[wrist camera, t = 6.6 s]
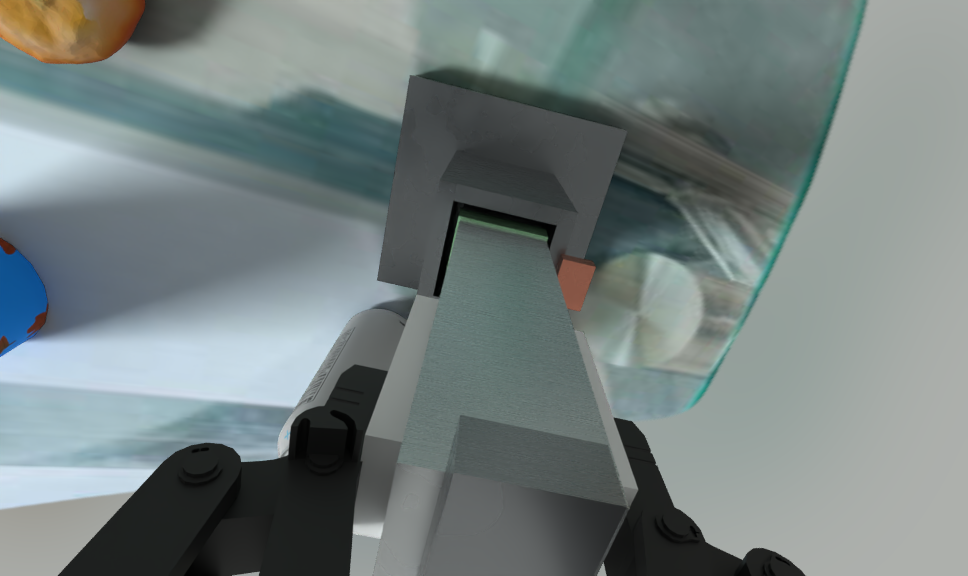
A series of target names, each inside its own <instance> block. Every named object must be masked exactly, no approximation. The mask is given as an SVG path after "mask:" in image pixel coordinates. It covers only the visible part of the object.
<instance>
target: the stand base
mask: <svg viewBox="0 0 968 576" xmlns="http://www.w3.org/2000/svg"><path fill="white" fill-rule="evenodd" d="M627 132H628V131H626V130H624V129H621V128H617V127H614V126H610V125H606V124H602V123H598V122H594V121H590V120H586V119H582V118H579V117H575V116H571V115H567V114H563V113H559V112H555V111H551V110H547V109H543V108H540V107H536V106H532V105H528V104H524V103H520V102H516V101H512V100H508V99H505V98H501V97H497V96H493V95H489V94H485V93H481V92H477V91H473V90H470V89H466V88H462V87H458V86H454V85H450V84H446V83H442V82H438V81H434V80H431V79H427V78H423V77H419V76H415V75H410V79H409V85H408V91H407V98H406V104H405V110H404V116H403V122H402V129H401V135H400V141H399V147H398V154H397V160H396V166H395V172H394V178H393V185H392V191H391V197H390V203H389V210H388V216H387V222H386V228H385V234H384V241H383V247H382V253H381V259H380V266H379V272H378V278H377V280H378V281H382V282H386V283H391V284H395V285H400V286H404V287H409V288H413V289H418V292H417V295H421V296H425V297H430V298H434V299H439V298H440V295H441V291H442V287H443V283H444V279H445V275H446V270H447V266H448V261H449V257H450V252H451V248H452V243H453V239H454V234H455V230H456V225H457V221H458V216H459V213H460V209H463V206H464V203H465V204H469V205H474V206H478V207H482V208H486V209H490V210H494V211H499V212H503V213H507V214H511V215H515V216H520V217H524V218H528V219H532V220H536V221H540V222H541V226H542V228H545V229H546V232H547V235H548V240H547V245H548V248H549V251H550V255H551V258H552V261H553V264H554V267H555V271H556V274H557V277H558V280H559V283H560V287H561V290H562V293H563V296H564V300H565V303H566V306H567V309H571V310H576V311H580V310H581V308H582V305H583V302H584V299H585V296H586V293H587V291H588V288H589V285H590V282H591V279H592V277H593V274H594V271H595V268H596V266H595V264H594V263H593V261H590V260H586V259H584V258H585V255H586V252H587V249H588V246H589V243H590V240H591V237H592V234H593V231H594V228H595V225H596V222H597V219H598V217H599V214H600V211H601V208H602V205H603V202H604V199H605V196H606V193H607V190H608V187H609V184H610V181H611V178H612V176H613V173H614V170H615V167H616V164H617V161H618V158H619V155H620V152H621V149H622V146H623V143H624V140H625V137H626V135H627Z"/></svg>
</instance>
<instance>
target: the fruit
mask: <svg viewBox="0 0 968 576" xmlns="http://www.w3.org/2000/svg"><path fill="white" fill-rule="evenodd" d="M144 10H145V0H0V37H1V38H3V39H4V40H5V41H7V42H9V43H11V44H12V45H14V46H15V47H17V48H18V49H20V50H22V51H24V52H25V53H27V54H29V55H31V56H33V57H35V58H36V59H38V60H39V61H41V62H44V63H54V64H83V63H93V62H98V61H102V60H105V59H107V58H109V57H110V56H112V55H113V54H114V53H116V52H117V51H118V50H119V49H121V48H122V47H123V46H124V45H125V44H126V43H127V41H128V40H129V39H130V37H131V36H132V34H133V32H134V30H135V28H136V26H137V24H138V22H139V20H140V18H141V16H142V14H143V12H144Z"/></svg>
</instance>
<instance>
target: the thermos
mask: <svg viewBox="0 0 968 576" xmlns="http://www.w3.org/2000/svg"><path fill="white" fill-rule="evenodd" d="M47 311H48V301H47V297H46V292H45V288H44V285H43V283H42V281H41V280H40V278H39V276H38V275H37V273H36V271H35V269H34V268H33V266H32V264H31V263H30V262H29V261H28V260H27V259H26V258H25V257H24V256H23V255H22V254H20V253H19V252H18V251H17V250H16V249H15V248H14V247H13V246H12V245H11V244H9V243H8V242H6V241H4V240H3V239H1V238H0V357H1V356H3V355H4V354H6V353H7V352H9V351H11V350H12V349H14V348H15V347H17V346H18V345H20V344H22V343H23V342H25V341H26V340H28V339H29V338H31V337H33V336H34V335H35V334H36V333H37V332H38V330H39V329H40V328H41V327H42V326H43V325H44V324H45V320H46V315H47Z"/></svg>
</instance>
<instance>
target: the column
mask: <svg viewBox="0 0 968 576" xmlns="http://www.w3.org/2000/svg"><path fill="white" fill-rule="evenodd" d="M547 240H548V235H547V232H546V229H545V228H542V226H541V222H540V221H536V220H532V219H528V218H524V217H520V216H515V215H511V214H507V213H503V212H499V211H494V210H490V209H486V208H482V207H478V206H474V205H469V204H465V203H464V206H463V209H460V213H459V216H458V221H457V225H456V230H455V234H454V239H453V243H452V248H451V252H450V257H449V261H448V266H447V270H446V275H445V279H444V283H443V287H442V291H441V295H440V298H439V302H438V306H437V310H436V314H435V318H434V321H433V325H432V329H431V333H430V337H429V341H428V345H427V348H426V352H425V356H424V360H423V364H422V368H421V371H420V375H419V379H418V383H417V387H416V391H415V394H414V398H413V402H412V406H411V410H410V414H409V418H408V421H407V425H406V429H405V433H404V437H403V441H402V444H401V448H400V452H399V456H398V460H397V464H396V469H395V473H394V478H393V483H392V487H391V492H390V497H389V501H388V506H387V511H386V515H385V520H384V525H383V529H382V534H381V539H380V543H379V549H378V553H377V557H376V562H375V567H374V572H373V576H597V574H598V572H599V570H600V568H601V566H602V564H603V562H604V560H605V558H606V556H607V554H608V552H609V550H610V548H611V546H612V544H613V542H614V540H615V538H616V535H617V533H618V531H619V529H620V527H621V525H622V523H623V521H624V519H625V517H626V515H627V513H628V511H629V509H630V508H629V505H628V502H627V499H626V495H625V492H624V489H623V486H622V482H621V479H620V476H619V473H618V470H617V466H616V463H615V460H614V457H613V454H612V450H611V447H610V444H609V441H608V438H607V434H606V431H605V428H604V425H603V421H602V418H601V415H600V412H599V409H598V405H597V402H596V399H595V396H594V393H593V389H592V386H591V383H590V380H589V377H588V373H587V370H586V367H585V364H584V360H583V357H582V354H581V351H580V348H579V344H578V341H577V338H576V335H575V332H574V328H573V325H572V322H571V319H570V316H569V312H568V309H567V306H566V303H565V300H564V296H563V293H562V290H561V287H560V283H559V280H558V277H557V274H556V271H555V267H554V264H553V261H552V258H551V255H550V251H549V248H548V245H547Z"/></svg>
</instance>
